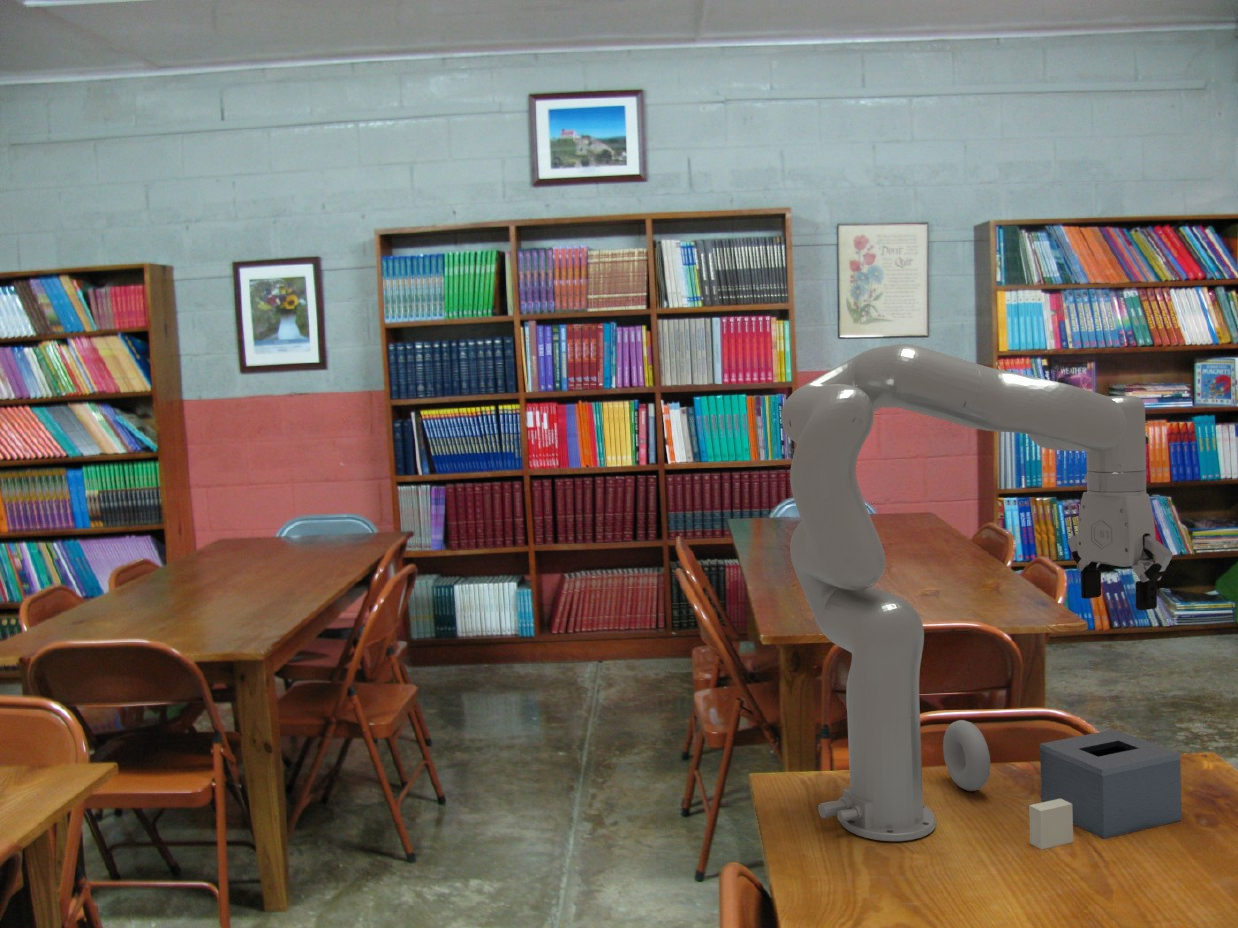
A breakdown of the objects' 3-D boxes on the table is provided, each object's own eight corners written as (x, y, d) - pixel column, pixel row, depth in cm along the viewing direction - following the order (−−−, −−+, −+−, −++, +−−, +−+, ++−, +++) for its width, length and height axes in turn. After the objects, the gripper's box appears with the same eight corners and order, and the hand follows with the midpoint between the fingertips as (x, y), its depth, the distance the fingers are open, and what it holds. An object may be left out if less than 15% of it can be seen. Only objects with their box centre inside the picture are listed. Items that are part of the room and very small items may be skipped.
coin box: (1104, 838, 129) (1102, 769, 129) (1041, 807, 140) (1039, 743, 139) (1181, 820, 133) (1180, 753, 133) (1115, 791, 144) (1114, 729, 143)
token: (1041, 849, 127) (1040, 811, 127) (1030, 843, 129) (1029, 805, 129) (1073, 842, 129) (1072, 803, 129) (1061, 836, 131) (1060, 798, 130)
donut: (996, 800, 143) (994, 730, 142) (974, 803, 142) (971, 733, 142) (960, 775, 153) (958, 710, 152) (939, 778, 152) (937, 712, 152)
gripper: (1049, 481, 150) (1051, 596, 151) (1147, 489, 134) (1148, 617, 135) (1089, 478, 153) (1090, 591, 154) (1189, 485, 136) (1190, 611, 137)
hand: (1118, 603), depth 144 cm, fingers open, 9 cm apart
